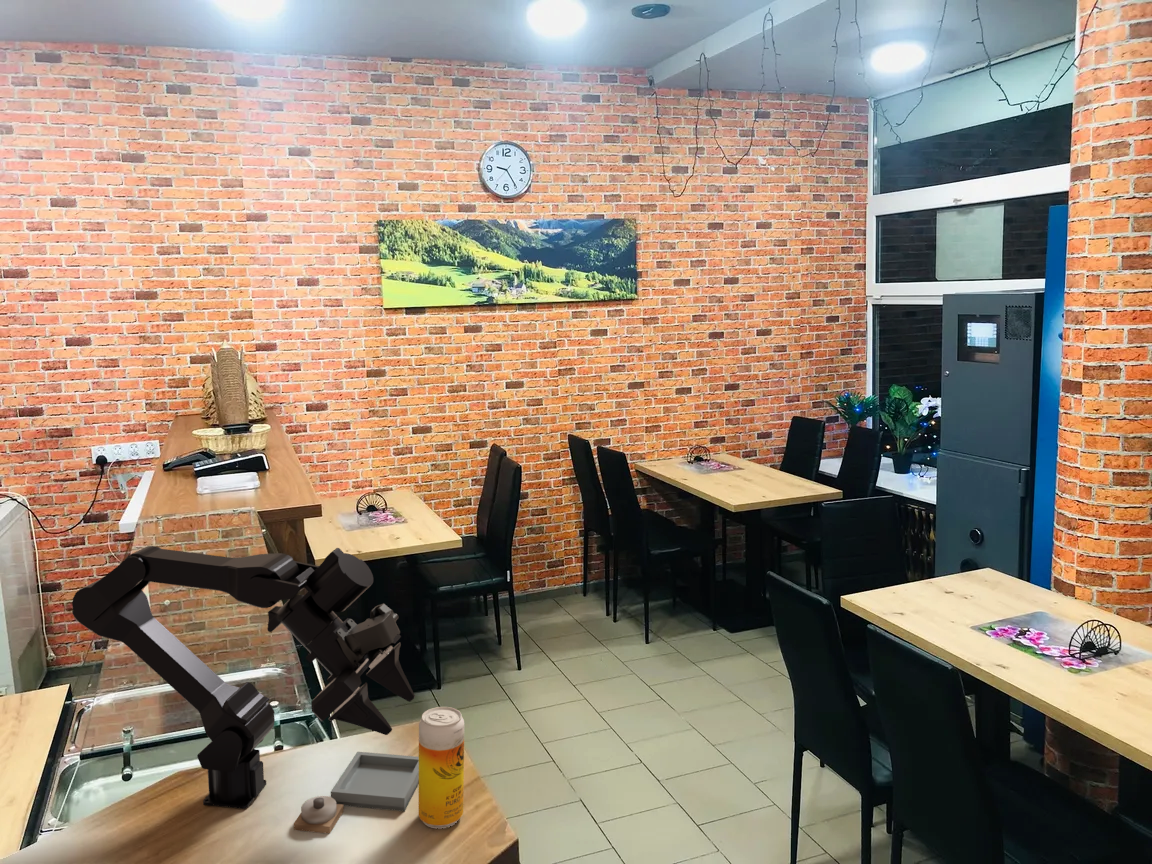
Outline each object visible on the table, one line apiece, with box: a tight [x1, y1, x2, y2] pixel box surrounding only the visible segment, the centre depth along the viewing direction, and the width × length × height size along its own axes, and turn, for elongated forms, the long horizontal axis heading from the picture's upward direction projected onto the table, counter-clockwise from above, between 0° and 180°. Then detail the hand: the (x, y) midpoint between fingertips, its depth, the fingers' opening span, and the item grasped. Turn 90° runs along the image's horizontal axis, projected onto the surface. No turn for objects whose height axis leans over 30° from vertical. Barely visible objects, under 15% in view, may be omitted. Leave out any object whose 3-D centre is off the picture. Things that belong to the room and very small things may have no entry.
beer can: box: [418, 706, 465, 830], centre depth 120 cm, size 6×6×15 cm
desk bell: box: [293, 795, 345, 834], centre depth 120 cm, size 5×5×3 cm
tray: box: [330, 751, 419, 812], centre depth 128 cm, size 11×11×2 cm
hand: (401, 715), depth 120 cm, fingers open, 9 cm apart
